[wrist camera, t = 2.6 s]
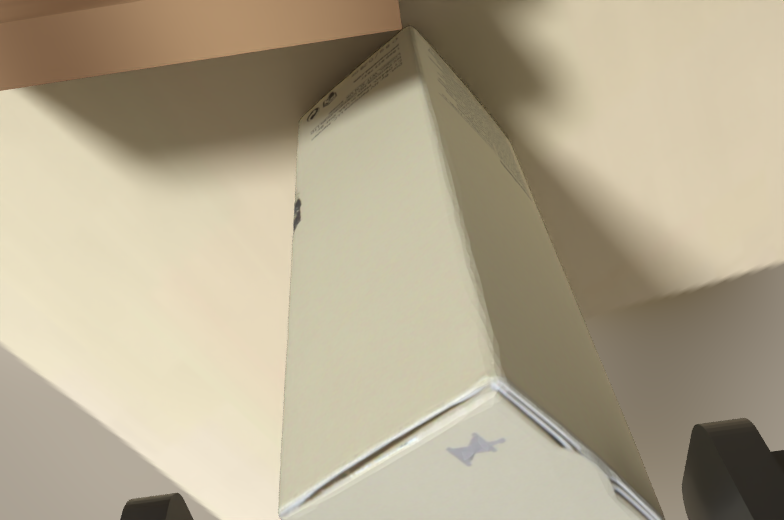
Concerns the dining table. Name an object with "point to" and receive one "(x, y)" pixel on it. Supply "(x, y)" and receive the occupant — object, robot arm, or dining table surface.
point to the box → (436, 322)
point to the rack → (166, 32)
